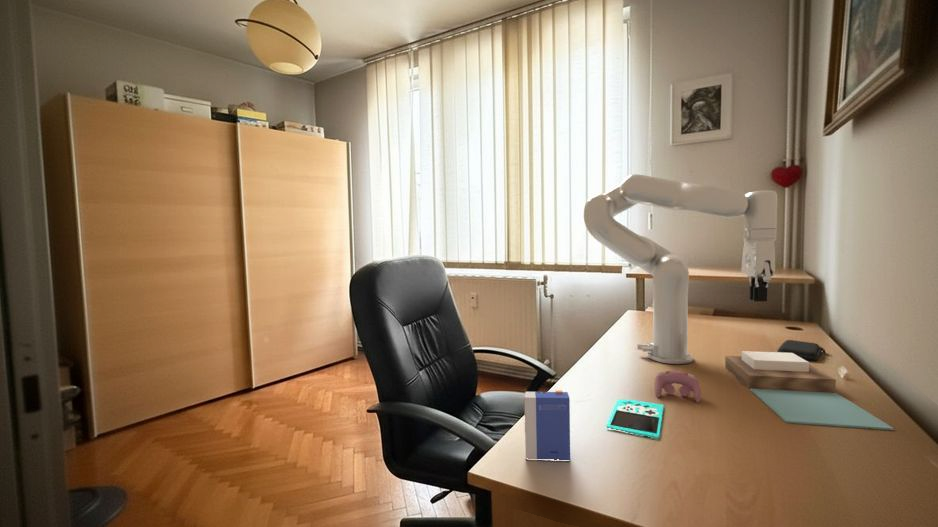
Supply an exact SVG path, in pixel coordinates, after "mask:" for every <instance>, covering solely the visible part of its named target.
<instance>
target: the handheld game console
mask: <svg viewBox="0 0 938 527" xmlns="http://www.w3.org/2000/svg"><path fill="white" fill-rule="evenodd" d="M664 406H665V405H664V404H661V403H657V402H656V403H655V402H649V401H641V400H635V399H625V398H624V399H618V400H617V401H616V402H615V405H614V407H613V408H612V411H611V414H610V416H609V420H608V421H607V423H606V427H607V428H611V429H616V430H621V431H625V432H628V433H633V434H638V435H643V436H646V437H647V438H648V437H653V438H659V439H660V435H661V430H660V429H661V428H662V423H663V416H662V415H664V409H665V407H664ZM661 422H662V423H661Z"/></svg>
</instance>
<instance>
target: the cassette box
mask: <svg viewBox="0 0 938 527" xmlns="http://www.w3.org/2000/svg"><path fill="white" fill-rule="evenodd" d="M741 356H742V360H743V361H744V362H745V363H747V364H748V365H749V366H751V367H752V368H753V369H759V370H782V371H804V372H809V365H810V361H807V360H804V359H802V358H801V357H799V356H797V355H795V354H793V353H782V352H777V351H751V350H750V351H748V350H742V351H741Z"/></svg>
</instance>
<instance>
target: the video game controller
mask: <svg viewBox="0 0 938 527" xmlns="http://www.w3.org/2000/svg"><path fill="white" fill-rule="evenodd" d="M673 384H677V385H680V388H679V390H678V392H679V394H680V396H681V397H688V396H689V395H690V394H691V392H692V394H693V397H694V400H695V402H696V403H700V402H701V398H702V391H701V389H702V388H701V385H700V381H699V379H698V378H697V377H696V376H694V375H693V374H691V373H687V372H684V371H678V370H667V371H660V372H659V373H658V374H657V375H656V376H655V379H654V393H655V397H656V398H658V397H659V398H660V397H661V395H662V392H663V390H664V392H665V394H667V395H669V394H672V395H673V394H675V391H676V389H675V386H674V385H673Z"/></svg>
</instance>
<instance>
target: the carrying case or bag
mask: <svg viewBox="0 0 938 527" xmlns="http://www.w3.org/2000/svg"><path fill="white" fill-rule="evenodd" d="M776 352H782V353H793V354H795V355H797V356H799V357H801V358H802V359H804V360H806V361H808V362H815V361H816V360H819V358H820V357H821V356H820V355H821V353H824V354H826V349H825V348H824V347H821V346H820V345H819V343H814V342H808V341H800V340H793V339H787V340H785V341H784V342H783V343H781V345H780V346H779V347H778V349H777V350H776Z"/></svg>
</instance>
